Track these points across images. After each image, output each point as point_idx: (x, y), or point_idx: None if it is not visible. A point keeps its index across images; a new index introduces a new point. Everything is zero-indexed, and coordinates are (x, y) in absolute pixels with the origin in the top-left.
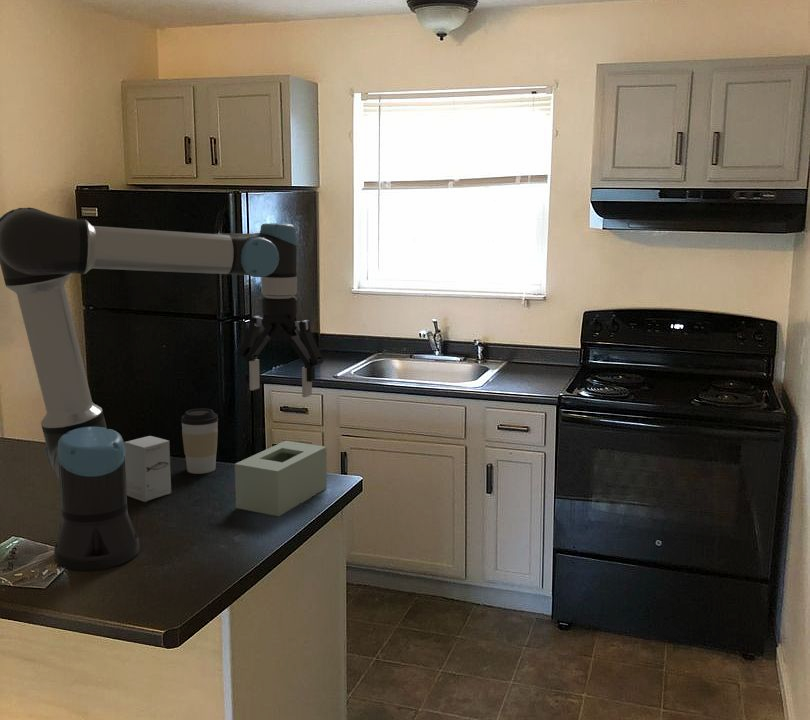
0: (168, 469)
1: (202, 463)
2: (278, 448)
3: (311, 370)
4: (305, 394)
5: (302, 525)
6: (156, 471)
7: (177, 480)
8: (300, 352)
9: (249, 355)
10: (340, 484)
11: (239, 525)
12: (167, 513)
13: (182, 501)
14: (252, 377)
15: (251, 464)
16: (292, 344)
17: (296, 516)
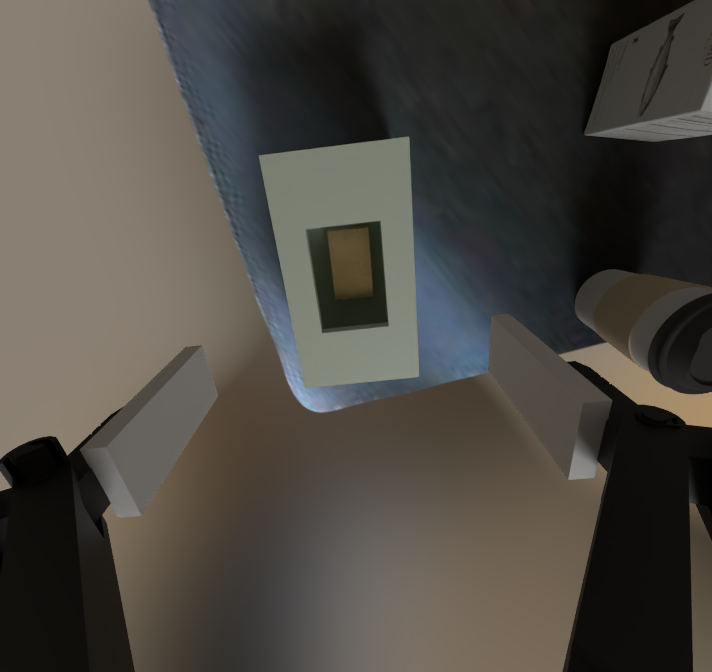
0: (628, 117)
1: (601, 285)
2: (393, 318)
3: (68, 457)
4: (179, 354)
5: (208, 150)
6: (649, 64)
7: (617, 215)
8: (25, 567)
9: (649, 436)
10: None
11: (315, 61)
12: (514, 14)
13: (528, 109)
14: (520, 344)
15: (363, 162)
16: (59, 663)
17: (255, 186)
